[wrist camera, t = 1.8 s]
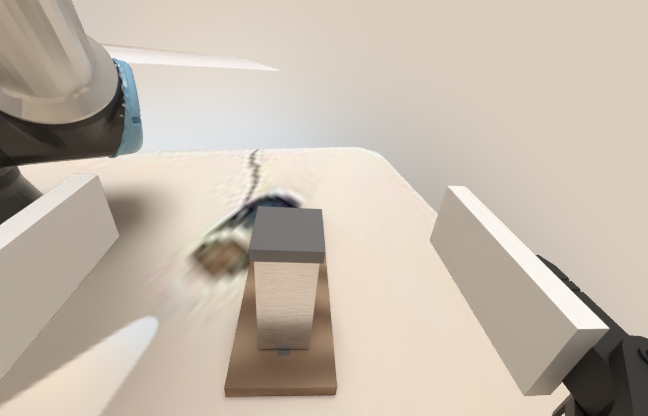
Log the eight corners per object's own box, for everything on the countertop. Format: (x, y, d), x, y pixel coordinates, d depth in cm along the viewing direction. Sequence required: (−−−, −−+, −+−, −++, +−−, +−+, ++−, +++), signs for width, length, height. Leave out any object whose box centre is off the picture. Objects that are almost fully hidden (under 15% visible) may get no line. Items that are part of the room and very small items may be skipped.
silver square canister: (312, 351, 30) (325, 252, 22) (254, 351, 29) (248, 249, 22) (311, 304, 34) (321, 209, 27) (261, 303, 34) (258, 206, 26)
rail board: (335, 395, 28) (337, 386, 27) (225, 396, 27) (224, 387, 26) (320, 218, 51) (321, 211, 50) (261, 216, 50) (261, 208, 49)
